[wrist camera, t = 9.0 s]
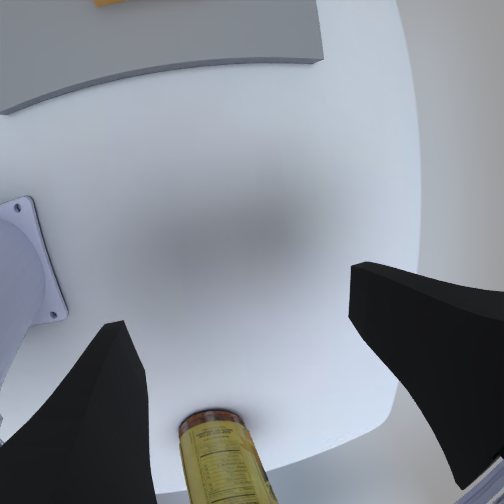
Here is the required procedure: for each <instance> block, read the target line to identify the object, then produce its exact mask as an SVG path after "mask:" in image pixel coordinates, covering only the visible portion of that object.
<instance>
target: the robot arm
mask: <svg viewBox="0 0 504 504" xmlns="http://www.w3.org/2000/svg"><path fill="white" fill-rule="evenodd" d="M17 204H19V205H20V206H21V211H19V210H18V209H17ZM52 312H55V313H56V314H57V315H54V314H52ZM67 315H68V310H67V308H66V305H65V303H64V300H63V297H62V295H61V292H60V290H59V287H58V284H57V281H56V279H55V276H54V273H53V270H52V267H51V264H50V261H49V258H48V255H47V252H46V249H45V245H44V242H43V239H42V235H41V231H40V228H39V224H38V220H37V216H36V212H35V208H34V204H33V201H32V199H31V198H30V197H28V196H24V197H21V198H17V199H14V200H11V201H8V202H6V203H3V204H0V390H1V387H2V385H3V382H4V380H5V378H6V375H7V373H8V371H9V368H10V366H11V364H12V362H13V359H14V357H15V355H16V353H17V351H18V349H19V347H20V345H21V343H22V341H23V339H24V337H25V335H26V333H27V331H28V329H29V327H30V325H36V324H42V323H49V322H55V321H61V320H64V319H66V318H67ZM348 317H349V319H350V320H351V322H352V323H353V325H354V327H355V328H356V330H357V331H358V333H359V334H360V336H361V337H362V339H363V340H364V341H365V342H366V343H367V345H368V346H369V347H370V348H371V349H372V350H373V351H374V353H375V354H376V355H377V356H378V357H379V358H380V359H381V360H382V361H383V363H384V364H385V365H386V366H387V367H388V368H389V369H390V370H391V372H392V373H393V374H394V375H395V376H396V377H397V378H398V379H399V381H401V383H402V384H403V385H404V387H405V388H406V389H407V390H408V392H409V393H410V395H411V396H412V398H413V399H414V401H415V402H416V404H417V405H418V407H419V408H420V410H421V411H422V413H423V415H424V417H425V418H426V420H427V422H428V423H429V425H430V427H431V428H432V430H433V432H434V434H435V436H436V438H437V440H438V442H439V444H440V446H441V448H442V450H443V452H444V454H445V456H446V459H447V461H448V464H449V466H450V468H451V471H452V473H453V476H454V479H455V482H456V484H457V485H458V486H459V487H460V489H461V490H464V489H465V488H466V487H468V486H469V485H470V484H471V483H472V482H474V481H475V480H476V479H477V478H478V477H479V476H480V475H482V474H483V473H484V472H485V471H486V470H487V469H488V468H489V467H490V466H491V465H492V464H493V463H494V462H495V461H496V460H497V459H498V458H499V457H500V456H501V457H502V458H503V460H502V462H500V463H499V464H498V465H497V466H496V467H495V468H494V469H493V470H492V471H491V472H490V473H489V474H488V475H487V476H486V477H485V478H484V479H483V480H481V481H480V482H479V483H478V484H477V485H476V486H475V487H474V488H472V489H471V490H470V491H469V492H468V493H466V494H465V495H464V496H463V497H462V498H460V499H459V500H458V501H456V502H455V503H454V504H486V503H487V502H488V501H489V500H490V499H491V498H492V497H493V496H494V495H495V494H497V493H498V492H499V491H500V489H502V488H503V486H504V292H500V291H489V290H483V289H477V288H471V287H465V286H460V285H456V284H452V283H447V282H443V281H439V280H436V279H432V278H428V277H425V276H421V275H418V274H414V273H411V272H407V271H404V270H400V269H397V268H393V267H390V266H386V265H382V264H378V263H373V262H363V263H359V264H355V265H352V266H351V280H350V300H349V316H348ZM2 420H3V417H2V416H1V414H0V426H1V423H2ZM0 504H157V501H156V496H155V491H154V486H153V481H152V476H151V468H150V454H149V411H148V392H147V383H146V375H145V370H144V367H143V365H142V363H141V361H140V359H139V356H138V354H137V352H136V349H135V347H134V345H133V342H132V340H131V337H130V335H129V333H128V330H127V328H126V325H125V323H124V320H122V321H117V322H112V323H107V324H105V325H104V326H103V327H102V328H101V329H100V330H99V332H98V333H97V334H96V336H95V337H94V339H93V340H92V341H91V343H90V344H89V345H88V347H87V348H86V350H85V351H84V352H83V354H82V355H81V357H80V358H79V359H78V361H77V362H76V364H75V365H74V366H73V368H72V369H71V370H70V372H69V373H68V374H67V375H66V377H65V378H64V379H63V381H62V382H61V383H60V385H59V386H58V387H57V388H56V390H55V391H54V392H53V394H52V395H51V396H50V397H49V398H48V400H47V401H46V402H45V403H44V404H43V405H42V407H41V408H40V409H39V410H38V411H37V412H36V413H35V414H34V415H33V416H32V417H31V418H30V420H29V421H28V422H27V423H26V424H24V425H23V426H22V427H21V428H20V429H19V430H18V431H17V432H16V433H15V434H14V435H13V436H12V437H11V438H10V439H9V440H8V441H6V442H5V443H4V444H3V443H2V442H1V440H0ZM491 504H504V493H503V494H502V495H501V496H500V497H498V498H497V499H496V500H495V501H494V502H492V503H491Z"/></svg>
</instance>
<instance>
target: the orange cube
mask: <svg viewBox="0 0 504 504" xmlns="http://www.w3.org/2000/svg"><path fill="white" fill-rule="evenodd" d="M93 1H94V3H95V5H96V7H101V6H105V5H109V4H114V3H118V2H123V1H128V0H93Z"/></svg>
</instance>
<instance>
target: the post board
mask: <svg viewBox="0 0 504 504" xmlns="http://www.w3.org/2000/svg"><path fill="white" fill-rule="evenodd" d="M323 59H324V55H323V47H322V39H321V32H320V25H319V18H318V11H317V5H316V0H128V1H123V2H118V3H114V4H109V5H105V6H101V7H96V5H95V3H94V1H93V0H0V115H8V114H10V113H13V112H15V111H18V110H20V109H23V108H25V107H28V106H30V105H33V104H36V103H39V102H41V101H44V100H47V99H50V98H53V97H56V96H59V95H62V94H65V93H69V92H72V91H75V90H79V89H82V88H86V87H90V86H93V85H97V84H101V83H105V82H109V81H114V80H118V79H123V78H127V77H132V76H137V75H143V74H148V73H154V72H160V71H167V70H174V69H181V68H190V67H199V66H209V65H222V64H239V63H306V64H313V63H315V62H318V61H321V60H323Z"/></svg>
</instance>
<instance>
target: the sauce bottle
mask: <svg viewBox="0 0 504 504" xmlns="http://www.w3.org/2000/svg"><path fill="white" fill-rule="evenodd" d="M179 439H180V444H179V448H180V454H181V460H182V466H183V471H184V476H185V481H186V486H187V490H188V495H189V499H190V504H279V503H278V501H277V499H276V497H275V494H274V492H273V490H272V487H271V485H270V483H269V480H268V477H267V475H266V472H265V471H264V468H263V466H262V463H261V461H260V458H259V456H258V453H257V451H256V448H255V446H254V443H253V440H252V438H251V435H250V433H249V431H248V430H247V429H246V427H245V425H244V422H243V421H242V419H240V418H239V417H238V416H237V415H235V414H231V413H229V412H226V411H208V412H201V413H198V414H195V415H192V416H191V417H190V418H188V419H187V420H186V421H185V422H184V423H183V425H182V426H181V427H180V429H179Z"/></svg>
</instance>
